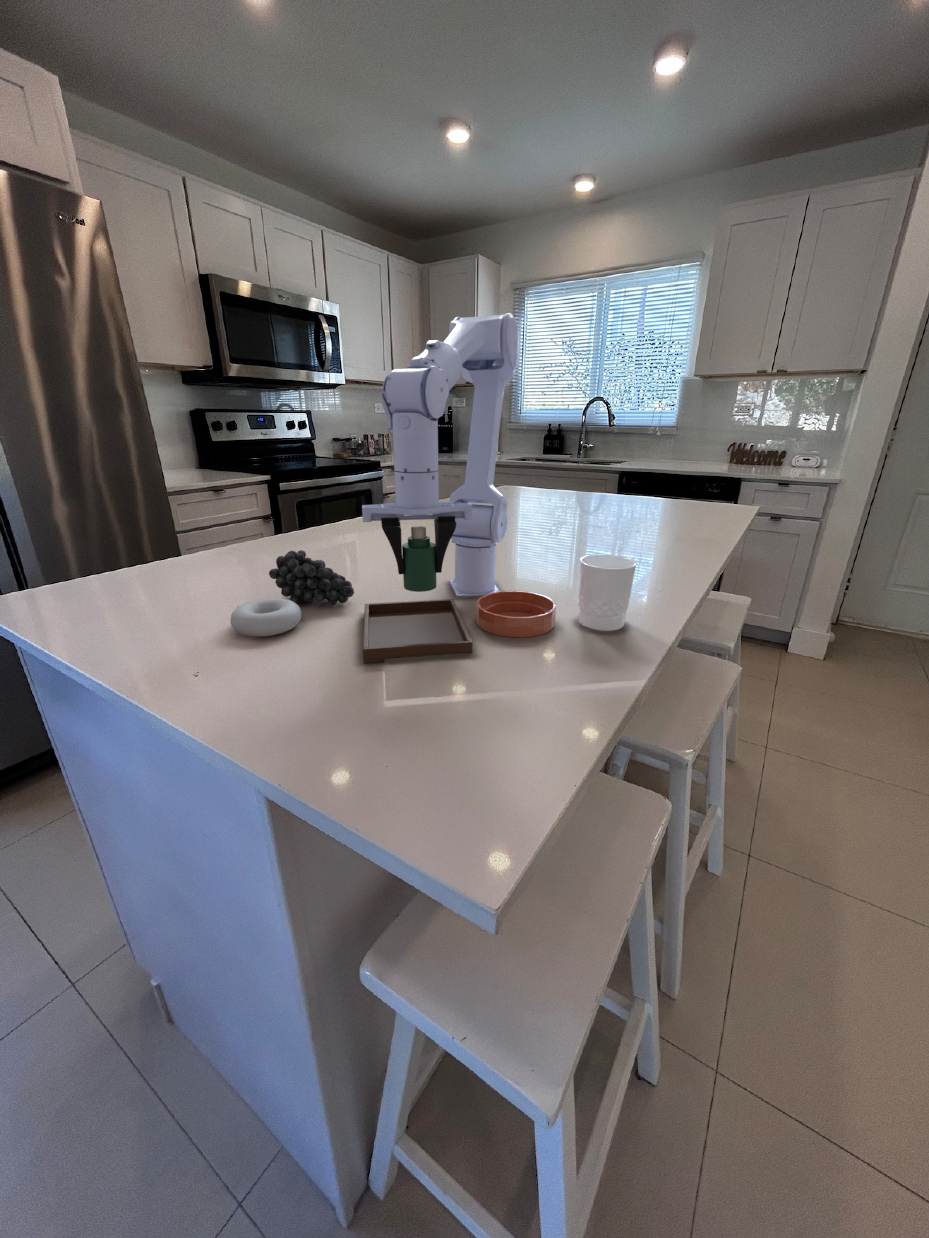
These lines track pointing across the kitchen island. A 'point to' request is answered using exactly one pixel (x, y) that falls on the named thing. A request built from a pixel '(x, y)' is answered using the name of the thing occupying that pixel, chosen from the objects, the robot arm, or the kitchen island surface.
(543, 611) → the bowl
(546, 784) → the kitchen island surface
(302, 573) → the fruit
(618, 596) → the white cup
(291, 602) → the donut
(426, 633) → the tray
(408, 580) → the bottle
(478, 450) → the robot arm
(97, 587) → the kitchen island surface
